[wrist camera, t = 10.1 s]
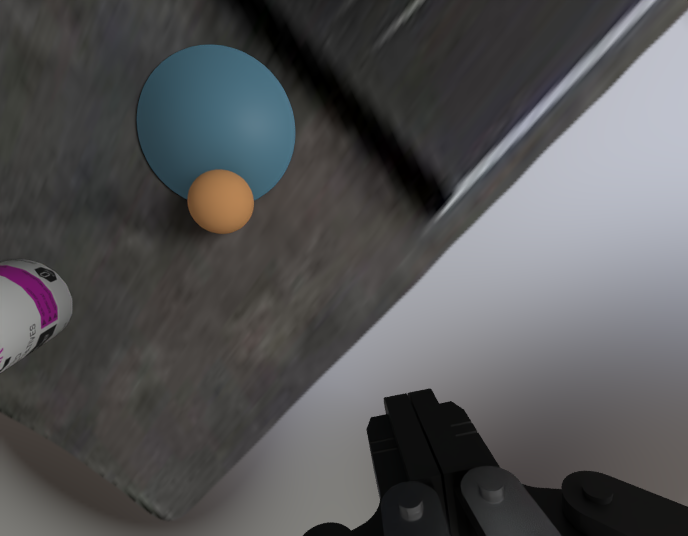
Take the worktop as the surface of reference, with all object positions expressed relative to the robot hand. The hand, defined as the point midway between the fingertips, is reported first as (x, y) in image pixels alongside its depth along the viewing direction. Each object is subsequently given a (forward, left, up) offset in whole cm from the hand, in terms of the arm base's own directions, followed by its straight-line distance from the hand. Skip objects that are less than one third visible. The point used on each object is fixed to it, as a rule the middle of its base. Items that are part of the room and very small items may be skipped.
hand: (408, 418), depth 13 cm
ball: (-11, +4, -26) cm, 29 cm away
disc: (-11, +11, -29) cm, 33 cm away
